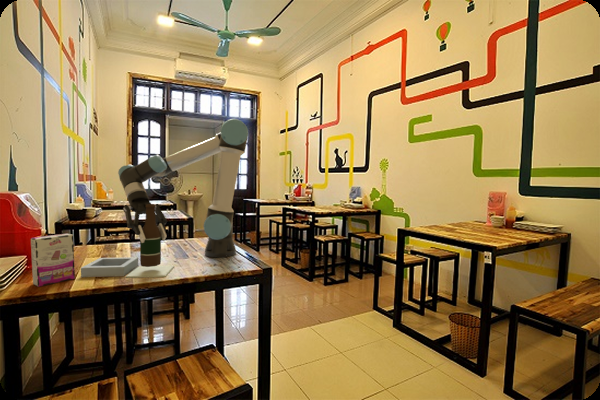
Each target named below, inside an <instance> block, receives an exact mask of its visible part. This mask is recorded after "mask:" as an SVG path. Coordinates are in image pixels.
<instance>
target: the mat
mask: <svg viewBox="0 0 600 400" xmlns="http://www.w3.org/2000/svg"><path fill="white" fill-rule="evenodd" d="M174 268H175V265H173V264H172V265H157V266H152V267H143V266H141V265H138V266H137V267H135V268H134V269H133V270H131V271H130V272H129V273H128V274H126V275H125V278H126V279H133V278H134V279H136V278H137V279H138V278H139V279H140V278H166V277H167V276H168V275H169V273H170V272H171V271H172V270H173V269H174Z"/></svg>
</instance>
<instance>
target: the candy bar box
mask: <svg viewBox="0 0 600 400" xmlns="http://www.w3.org/2000/svg"><path fill="white" fill-rule="evenodd" d="M74 247H75V246H74V234H73V233H72V234H71V233H61V234H60V233H59V234H54V235H53V234H52V235H45V236H38V237H31V238H30V249H31V250H30V251H31V270H32V285H34V286H36V287H45V286H47V285H53V284H56V283H61V282H66V281H70V280H73V279H76V271H75V270H76V269H75V249H74Z"/></svg>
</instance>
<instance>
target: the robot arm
mask: <svg viewBox="0 0 600 400" xmlns="http://www.w3.org/2000/svg"><path fill="white" fill-rule="evenodd" d="M248 136H249V129H248V127H247V125H246V124H245V123H244V122H243V120H240V119H238V118H230V119H227V120H226V121H224V123H223V124H222V126H221V127H220V131H219V132H218V133H216V134H215V136H214V137H212V138H209V139H207V140H204V141H202V142H200V143H197V144H194V145H192V146H189V147H187V148H185V149H182V150H180V151H177V152H175V153H173V154H170V155H167V156H166V157H162V156H161V155H159V154H155V155H153V156H150V157H149V158H147V159H146V160H144V161H142V162H141V163H139V164H137V165H132V164H127V165H123V166H121V167H120V168H119V169H118V172H117V174H118V177H119V182H120V183H121V186H122V187H123V190H124V191H123V192H124V193H125V195H126V198H127V201H128V204H129V205H127V204H125V205H124V206H123V208H122V210H123V212H124V214H125V220H126V226H127V229H132V231H134V234H135V235H136V236H138V237H139V241H140V240H141V243H144V241H145V239H146V238H145V236H144V233H143V230H142V228H143V227H142V225H141V224H139V221H140V215H146V207H145V206H146V205H147V204H152V202H150V198H149V195H148V193H147V191H146V188H145V186H144V184H143V183H144V182H147V181H148V180H150V179H152V178H153V177H159V178H163V177H166V176H167V175H169V174H171V173H174V172H175V171H177V170H181V169H182V168H185V167H187V166H190V165H192V164H194V163H197V162H199V161H203V160H205V159H207V158H209V157H212V156H214V155H216V154H219V153H220V159H219V165H218V170H217V174H216V175H217V176H216V182H215V187H214V192H213V198H212V204H210V205H209V206H208V207H207V213H206V218H205V219H204V223H203V229H204V233H205V234H206V236H207V237H208V238H207V239H208V240H207V243H206V246H205V249H204V256H206V257H210V258H225V257H231V256H235V255H236V254H237V253H236V252H237V248H236V246H235V241H234V239H233V223H234V222H233V220H234V219H233V218H234V214H235V210H234V209H233V208H232V205H233V201H234V195H235V189H236V184H237V183H236V182H237V179H238V172H239V166H240V162H241V161H240V160H241V156H242V155H243V154H245V152H246V146H247V141H248V138H249V137H248ZM154 205H155V220H156V225H157V227H158V228H159V230H160V233H161V241H165V240H166V238H168V237H167V233H166V230H167V229H166V225H167V222H168V219H167V218H166V216H165V215H164V212H163V211H162V209H161V208H160V204H159V203H156V204H154ZM131 210H132V212H134V219H133V218H132V212H131Z"/></svg>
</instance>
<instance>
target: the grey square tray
mask: <svg viewBox="0 0 600 400" xmlns="http://www.w3.org/2000/svg"><path fill="white" fill-rule="evenodd" d="M137 267H139V257H138V256H136V257H135V256H134V257H132V256H131V257H128V256H125V257H99V258H97V259H95V260H93V261H91V262H90V263H87V264H86V265H84V266H81V268H80V278H93V277H94V278H95V277H98V278H99V277H102V278H103V277H126V276H127V275H128V274H130V273H131V272H132V271H133V270H135V269H136V268H137Z"/></svg>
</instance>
